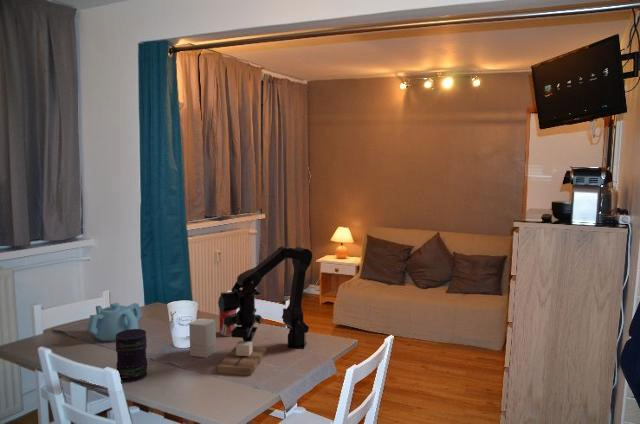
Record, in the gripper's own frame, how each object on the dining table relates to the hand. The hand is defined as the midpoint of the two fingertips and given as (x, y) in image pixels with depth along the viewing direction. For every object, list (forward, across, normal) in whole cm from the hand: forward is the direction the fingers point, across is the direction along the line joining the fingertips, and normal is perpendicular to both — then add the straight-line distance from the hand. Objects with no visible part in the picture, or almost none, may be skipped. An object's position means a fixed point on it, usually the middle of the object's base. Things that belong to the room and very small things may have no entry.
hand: (247, 347), depth 183 cm
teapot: (+4, -13, -63) cm, 65 cm away
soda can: (+4, -23, -16) cm, 28 cm away
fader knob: (+1, +4, 0) cm, 4 cm away
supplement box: (+4, -1, -18) cm, 18 cm away
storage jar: (+4, +22, -34) cm, 41 cm away
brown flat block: (+4, +5, 0) cm, 6 cm away
